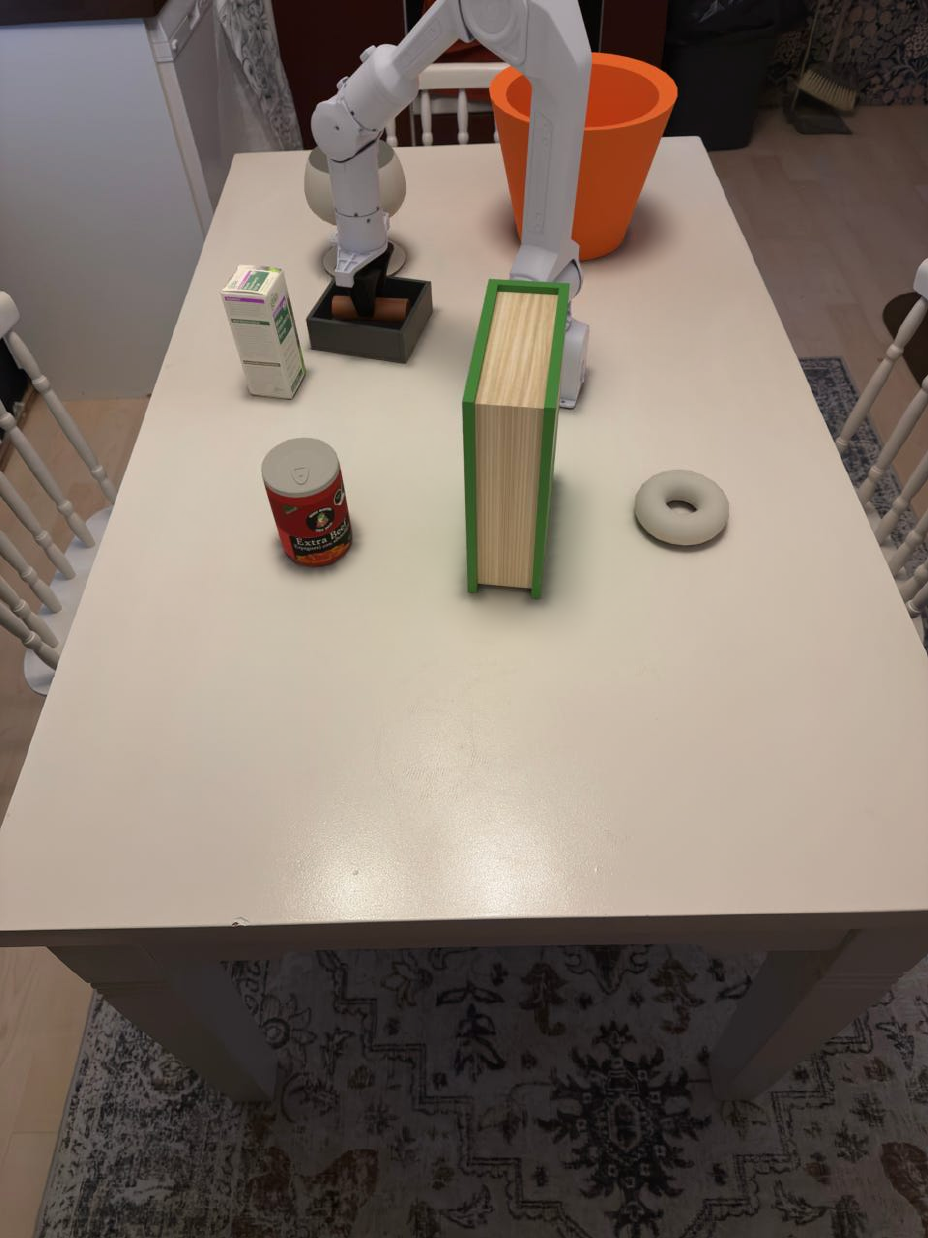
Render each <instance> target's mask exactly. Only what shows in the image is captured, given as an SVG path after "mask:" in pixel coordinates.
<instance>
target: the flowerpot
mask: <svg viewBox="0 0 928 1238" xmlns="http://www.w3.org/2000/svg"><path fill="white" fill-rule="evenodd" d="M591 53H592V67H591V76H590V84H589V92H588V101H587V109H586V117H585V126H584V134H583V142H582V151H581V159H580V168H579V176H578V184H577V193H576V201H575V209H574V218H573V226H572V234H571V239H572V240H574V241H575V242H576V243H577V244H578V245H579V246H580V248H579V262H581V261H582V262H583V261H590V260H595V259H598V258H601V257H605V256H606V255H609V254H611V253H612V252H614V251H616V250H617V249H618V248H619V247H620V246H621V244H622V243H623V241H624V238H625V235H626V233H627V230H628V228H629V225H630V222H631V220H632V217H633V214H634V212H635V209H636V207H637V203H638V200H639V198H640V195H641V193H642V190H643V189H644V185H645V182H646V180H647V177H648V174H649V172H650V169H651V167H652V164H653V162H654V159H655V156H656V153H657V151H658V148H659V145H660V143H661V141H662V138H663V135H664V133H665V130H666V127H667V125H668V122H669V119H670V117H671V114H672V111H673V109H674V106H675V104H676V101H677V98H678V87H677V85H676V83H675V81H674V79H673V78H672V77H670V75H669V74H667V72H666V71H663V70H662V69H660V68H659V67H657V66H656V65H652V64H650V63H648V62H646V61H643V60H639V59H635V58H632V57H628V56H622V55H618V54H613V53H604V52H592V51H591ZM488 91H489V96H490V102H491V105H492V106H491V107H492V111H493V116H494V121H495V126H496V131H497V134H498V135H497V136H498V140H499V147H500V151H501V156H502V160H503V166H504V170H505V171H504V172H505V177H506V182H507V185H508V191H509V195H510V196H509V197H510V201H511V206H512V210H513V216H514V220H515V225H516V230H517V236H518V239H519V241H520V242H521V239H522V225H523V210H524V196H525V181H526V167H527V152H528V138H529V124H530V109H531V95H532V85H531V83H530V82H529V80H528V79H527V78H526V77H525V76H524V75H523V74H521V73H520V72H519V71H517V70H516V69H515V68H513V67H512V66H511V65H509V66H507V67H505V68H503V69H502V70H501V71H499V72H498V73H497V74H496V75H495V76H494V78H493V79H492V80H491V81H490V85H489V88H488Z"/></svg>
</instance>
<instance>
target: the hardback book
mask: <svg viewBox="0 0 928 1238" xmlns="http://www.w3.org/2000/svg"><path fill="white" fill-rule="evenodd" d="M569 288H570V283H555V282H537V281H520V280H509V279H500V278H488V281H487V285H486V290H485V295H484V300H483V304H482V308H481V312H480V317H479V322H478V326H477V331H476V336H475V341H474V344H473V350H472V355H471V359H470V364H469V367H468V372H467V377H466V381H465V385H464V390H463V395H462V400H461V415H462V416H461V417H462V448H463V481H464V482H463V483H464V515H465V516H464V518H465V548H466V550H465V551H466V582H467V593H474V594H476V593H478V587H479V585H489V586H490V585H491V586H501V587H509V588H522V589H531V593H530V598H531V599H538V600H540V599H541V594H542V585H543V575H544V567H545V558H546V557H545V556H546V550H547V549H546V548H547V538H548V530H549V521H550V510H551V502H552V492H553V484H554V483H553V482H554V473H555V463H556V461H555V460H556V449H557V438H558V428H559V427H558V426H559V417H560V416H559V415H560V406H559V404H560V393H561V381H562V370H563V358H564V346H565V335H566V323H567V311H568V300H569Z"/></svg>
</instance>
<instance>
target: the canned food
mask: <svg viewBox="0 0 928 1238" xmlns="http://www.w3.org/2000/svg"><path fill="white" fill-rule="evenodd" d="M260 469H261V470H260V471H261V477H262V478H261V479H262V482H263V485H264V489H265V492H266V495H267V499H268V502H269V507H270V510H271V513H272V516H273V519H274V522H275V526H276V529H277V533H278V536H279V540H280V544H281V546H282V548H283V550H284V551H285V553H286V554H287V555H288V556H289V558H290V559H292V561H295V563H297V564H301V565H303V566H308V567H318V566H319V567H321V566H325V565H329V564H331V563H333V562H335V561H337V560H338V559H340V558H342V556H343V555H345V553H346V552H347V551H348V549H349V547H350V545H351V541H352V537H353V528H352V522H351V516H350V511H349V505H348V501H347V500H348V499H347V495H346V489H345V483H344V478H343V477H344V476H343V474H342V473H343V472H342V468H341V462H340V459H339V457H338V454H337V452H336V450H335V449H334V448H333V447H332V446H331V445H330V444H329V443H327V442H326V441H324V440H320V439H317V438H312V437H296V438H291V439H288V440H285V441H283V442H281V443H279V444H277V445H275V446H273V448H271V449H270V450H269V451H268V452H267V453H266V454H265V456H264V457H263V460H262V462H261V465H260Z"/></svg>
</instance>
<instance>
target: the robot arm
mask: <svg viewBox="0 0 928 1238" xmlns="http://www.w3.org/2000/svg"><path fill="white" fill-rule="evenodd" d="M475 39H476V40H477V42H479V44H481V45H482V46H483V47H485V48H486V49H487V50H488V51H490V52H492V53H493V54H494V55H495V56H497V57H498V58H499V59H501V60H503V61H504V62H505V63H507V64H508V65H509V66H512V67H513V68H515V69H516V70H517V71H519V72H520V73H521V74H523V75H524V76H525V77H526V78H527V79H528V80H529V82H530V83H531V85H532V95H531V109H530V124H529V138H528V152H527V167H526V181H525V196H524V210H523V225H522V239H521V241H520V243H521V244H520V247H519V249H518V251H517V254H516V256H515V259H514V261H513V264H512V266H511V268H510V271H509V277H508V278H509V279H508V280H520V281H537V282H555V283H570V288H569V300H568V311H567V323H566V335H565V346H564V358H563V370H562V381H561V393H560V404H559V408H560V407H561V408H567V409H573V408H575V406H576V405H577V400H578V398H579V394H580V391H581V388H582V384H583V383H584V382H585V378H586V372H587V367H586V364H587V356H588V355H587V354H588V345H589V336H590V324H588V323H585V322H582V321H579V320H577V319H576V318H574V317H573V316H572V314H573V312H572V300H573V299H574V298H576V296H578V294H579V293H580V292H581V290H582V287H583V284H584V273H583V269H582V266H581V264H580V263H581V262H580V261H579V248H580V246H579V245H578V244H577V243H576V242H575V241H574V240H572V239H571V234H572V226H573V218H574V209H575V201H576V193H577V184H578V176H579V168H580V159H581V151H582V142H583V134H584V126H585V117H586V109H587V101H588V92H589V84H590V76H591V67H592V53H593V52H592V49H591V46H590V45H591V44H590V42H589V41H590V40H589V37H588V34H587V30H586V27H585V23H584V20H583V16H582V12H581V7H580V5H579V0H436V1H434V3H433V4H432V5H431V6H430V8H429V9H427V11H426V12H425V13H424V14H423V15H422V16H421V18H420V19H419V21H417V23H416V24H415V25H414V26H413V27H412V29H410V31H409V32H408V33H407V34H406V36H405V37H404V38H403V39H402V40H401V41H400V43H398V45H394V44H388V43H384V44H380V45H378V46H377V47H376V46H375V45H371V46H370V47H368V48H366V49H365V50H364V51H363V52H362V53H361V54H360V55H359V59H360V60H361V62H362V64H360V65H359V67H358V68H357V69H356V70H355V71H354V72H353V73H352V75H350V77H349V76H345V77H343V78H342V79H340V80H339V81H338V82H337V84H336V88H337V89H338V91H337V93H336V94H334V96H332V97H330V98H329V99H328V100H323V101H321V102H319V103H318V104H316V107H315V110H314V111H313V113H312V115H311V120H310V128H311V133H312V137H313V139H314V142H315V143H316V145H317V146H318V147H319V148H320V149H321V151H322V152H323V153H324V154H325V155H327V162H328V169H329V176H330V183H331V189H332V196H333V203H334V209H335V216H336V223H337V226H336V230H337V233H334V234H333V235H332V237H331V238H330V245H331V246H332V247H333V246H334V247H338V253H337V265H336V266H335V268H334V274H335V280H336V285H337V286H343V287H344V288H345V289H346V291H347V292H348V294H349V296H350V298H351V300H352V303H353V305H354V307H355V310H356V312H357V314H358V316H361V317H368V318H373V316H374V313H375V297H379V298H383V297H384V290H385V282H386V274H387V269H388V265H389V261H390V258H391V256H392V253H393V251H394V245H393V244H392V243H390V242H387V239H388V231H389V230H390V228H391V224H390V218H389V213H384V212H383V210H382V201H381V191H380V181H379V171H378V160H377V154H378V153H379V146H378V142H379V140H380V139H381V137H382V135H383V133H384V130H385V129H386V127H387V126H388V125H389V124H390V123H391V122H392V121H393V120H394V119H396V118H397V116H398V115H399V114H400V113H401V112H402V111H404V110H405V109H406V108H407V107H408V106H409V105H410V104H411V103H412V102H413V101H414V100H415V99H416V98H417V97H418V94H419V91H420V77H419V75H421V74H422V73H423V72H424V71H425V70H426V69H428V68H429V67H430V66H431V65H432V64H434V63H435V61H436V60H437V59H438V58H440V57H441V56H442V55H443V54H444V53H445V52H446V51H447V50H448V49H449V48H451V46H453V45H454V44H455V43H456V42H457V41H458V40H461V41H463V42H464V43H467V44H469V43H471V42H473V41H474V40H475ZM591 52H592V53H591Z"/></svg>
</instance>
